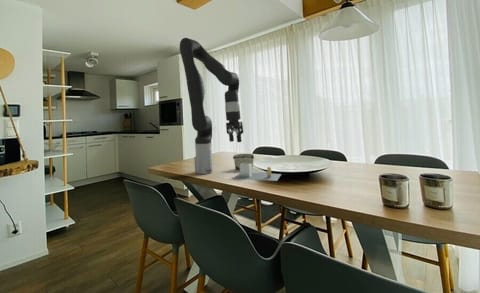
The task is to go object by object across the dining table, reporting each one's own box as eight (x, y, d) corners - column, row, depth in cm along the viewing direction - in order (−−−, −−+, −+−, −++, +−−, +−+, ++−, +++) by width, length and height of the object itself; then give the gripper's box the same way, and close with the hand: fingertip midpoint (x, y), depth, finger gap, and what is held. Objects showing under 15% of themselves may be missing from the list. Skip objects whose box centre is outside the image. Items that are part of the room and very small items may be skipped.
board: (232, 181, 117) (232, 168, 116) (240, 175, 130) (240, 163, 129) (277, 183, 110) (277, 170, 109) (281, 176, 123) (281, 164, 122)
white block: (239, 176, 120) (239, 164, 119) (242, 174, 125) (242, 163, 124) (249, 177, 118) (249, 165, 118) (252, 174, 123) (251, 163, 123)
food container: (255, 170, 142) (254, 153, 141) (254, 172, 136) (254, 155, 135) (234, 170, 143) (234, 153, 142) (233, 172, 137) (232, 155, 136)
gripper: (220, 112, 128) (223, 142, 130) (232, 110, 116) (235, 143, 118) (232, 111, 132) (235, 140, 134) (245, 109, 120) (248, 141, 121)
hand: (235, 141), depth 126 cm, fingers open, 8 cm apart
